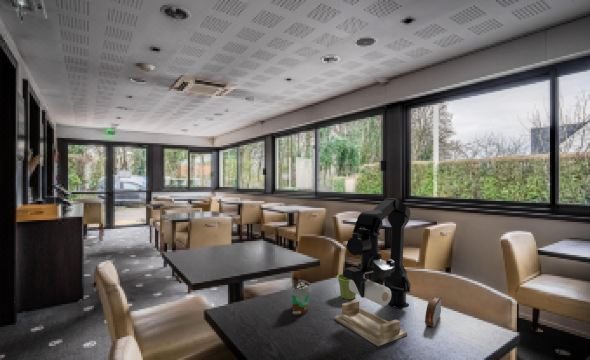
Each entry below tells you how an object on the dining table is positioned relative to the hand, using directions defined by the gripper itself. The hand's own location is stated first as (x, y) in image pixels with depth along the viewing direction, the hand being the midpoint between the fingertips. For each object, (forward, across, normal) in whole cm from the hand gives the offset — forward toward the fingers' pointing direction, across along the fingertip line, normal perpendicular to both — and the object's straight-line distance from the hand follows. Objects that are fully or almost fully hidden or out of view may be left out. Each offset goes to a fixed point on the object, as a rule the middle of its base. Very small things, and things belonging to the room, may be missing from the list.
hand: (369, 295), depth 106 cm
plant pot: (+11, +11, +24) cm, 29 cm away
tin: (+11, +22, -9) cm, 26 cm away
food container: (+11, -13, +22) cm, 28 cm away
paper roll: (+1, 0, 0) cm, 1 cm away
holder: (+11, 0, 0) cm, 11 cm away
